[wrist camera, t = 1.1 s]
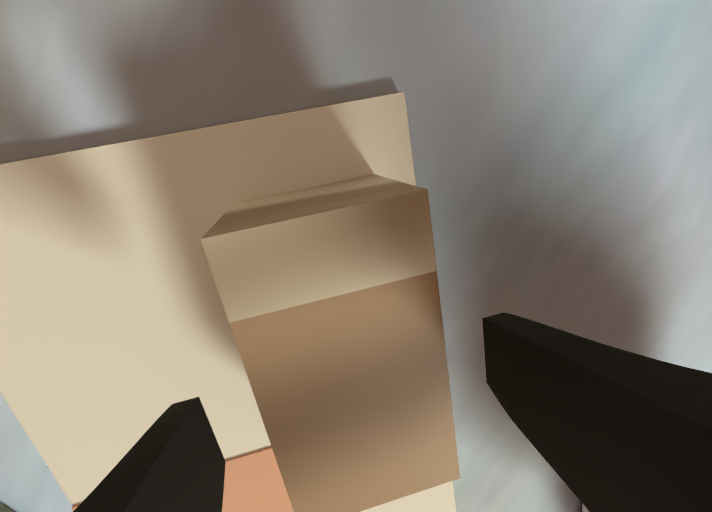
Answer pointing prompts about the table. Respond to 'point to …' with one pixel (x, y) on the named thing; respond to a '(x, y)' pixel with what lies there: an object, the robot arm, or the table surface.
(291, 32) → the table surface
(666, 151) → the table surface
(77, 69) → the table surface
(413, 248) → the two tone block
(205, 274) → the mat
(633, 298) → the table surface
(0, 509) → the money
